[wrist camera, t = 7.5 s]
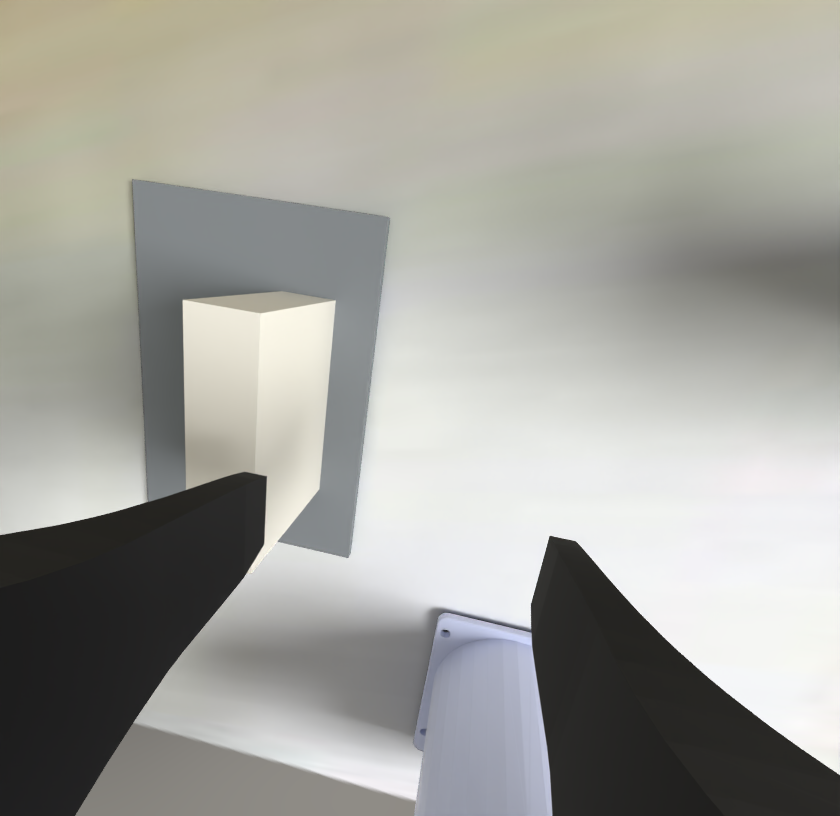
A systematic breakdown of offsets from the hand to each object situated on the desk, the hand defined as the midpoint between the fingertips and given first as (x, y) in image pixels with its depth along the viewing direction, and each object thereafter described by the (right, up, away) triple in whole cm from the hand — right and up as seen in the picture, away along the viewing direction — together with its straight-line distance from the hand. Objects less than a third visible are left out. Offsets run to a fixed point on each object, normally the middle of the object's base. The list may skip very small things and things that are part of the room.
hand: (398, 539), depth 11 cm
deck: (-5, +4, +9) cm, 11 cm away
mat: (-7, +4, +10) cm, 13 cm away
